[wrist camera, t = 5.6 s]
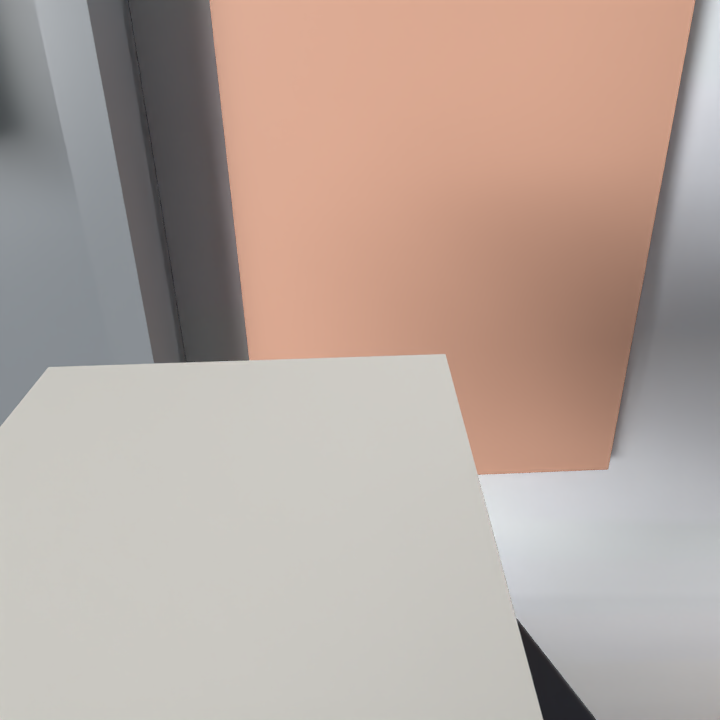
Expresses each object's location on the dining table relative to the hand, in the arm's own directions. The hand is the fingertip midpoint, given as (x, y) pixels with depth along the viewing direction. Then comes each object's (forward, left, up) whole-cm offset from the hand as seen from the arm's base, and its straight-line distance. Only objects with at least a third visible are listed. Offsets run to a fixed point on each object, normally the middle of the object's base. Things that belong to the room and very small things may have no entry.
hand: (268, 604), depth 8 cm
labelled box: (0, 0, -1) cm, 1 cm away
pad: (0, -4, -12) cm, 12 cm away
